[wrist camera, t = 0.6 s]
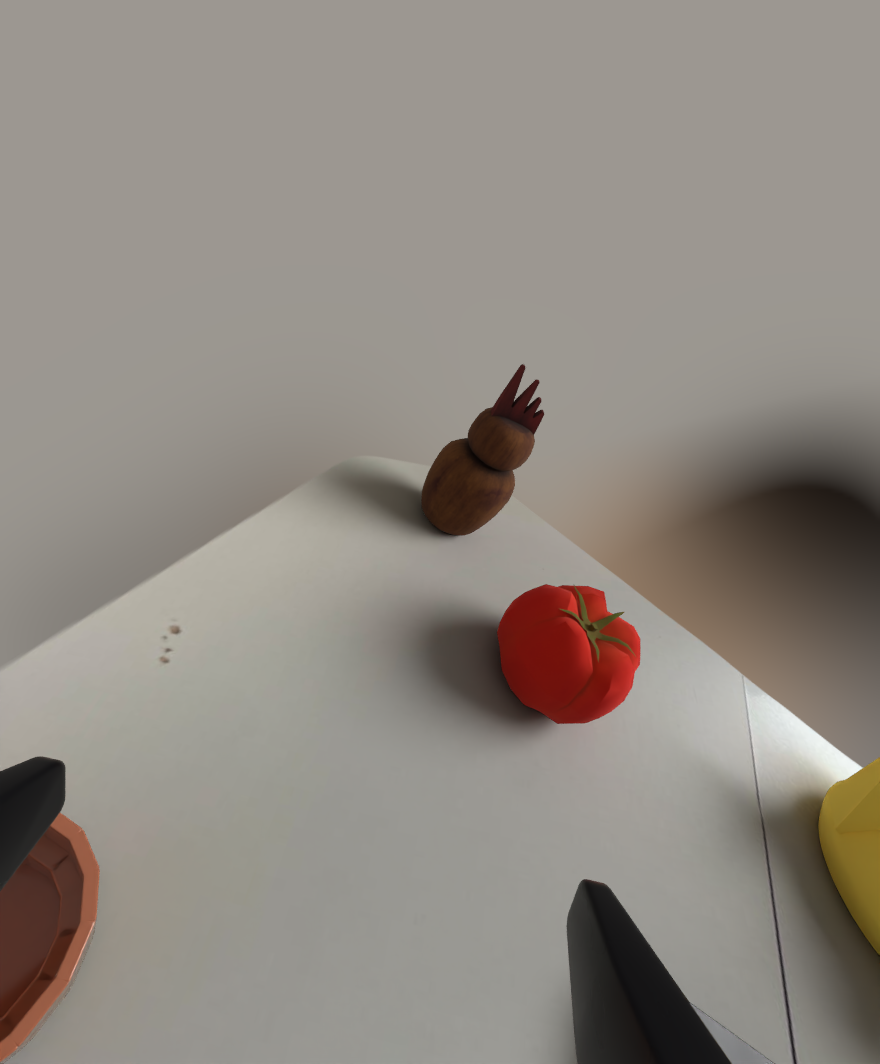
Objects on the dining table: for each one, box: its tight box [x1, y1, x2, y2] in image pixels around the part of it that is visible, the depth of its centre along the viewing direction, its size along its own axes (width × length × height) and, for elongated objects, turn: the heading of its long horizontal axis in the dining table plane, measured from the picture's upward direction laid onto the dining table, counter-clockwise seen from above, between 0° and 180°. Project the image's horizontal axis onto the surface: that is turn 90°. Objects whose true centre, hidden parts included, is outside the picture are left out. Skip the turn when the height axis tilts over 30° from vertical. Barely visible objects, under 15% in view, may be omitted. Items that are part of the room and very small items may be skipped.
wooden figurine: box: [421, 364, 544, 535], centre depth 37 cm, size 7×6×15 cm
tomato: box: [497, 584, 640, 724], centre depth 33 cm, size 9×9×8 cm
